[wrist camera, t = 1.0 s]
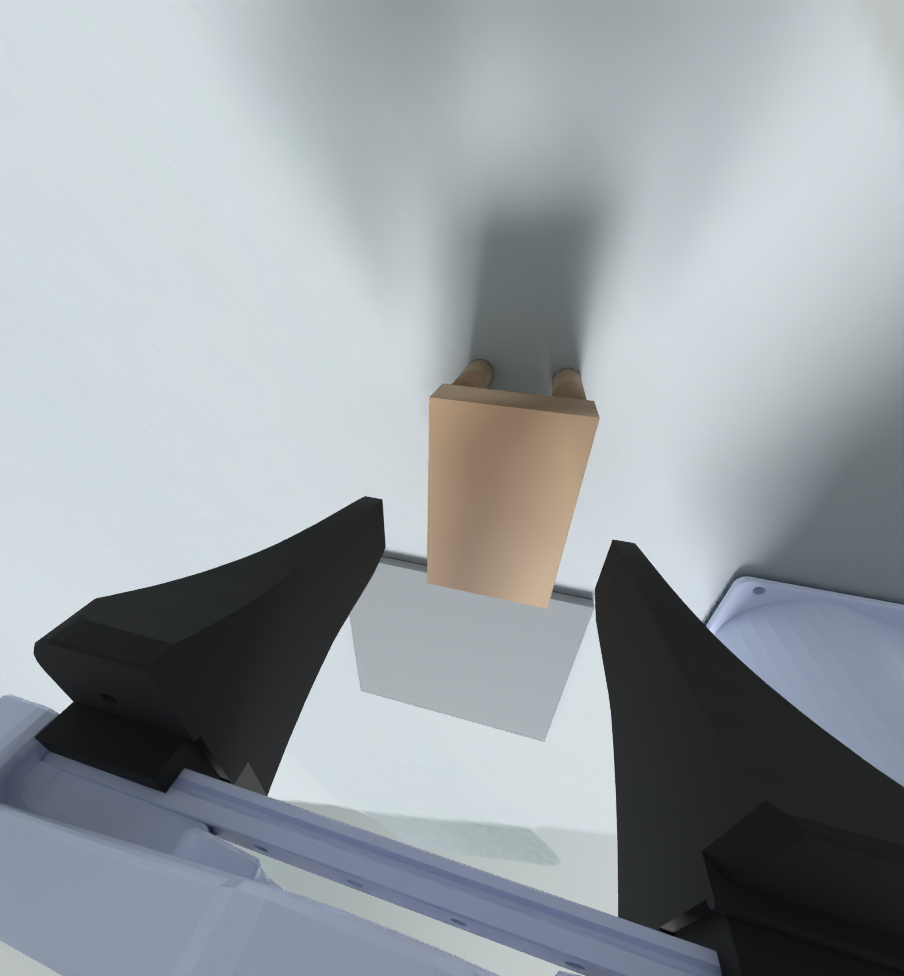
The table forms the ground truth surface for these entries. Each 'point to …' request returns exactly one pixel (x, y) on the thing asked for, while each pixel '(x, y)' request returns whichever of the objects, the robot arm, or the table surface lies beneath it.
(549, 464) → the stool
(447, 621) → the mat
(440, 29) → the table surface
